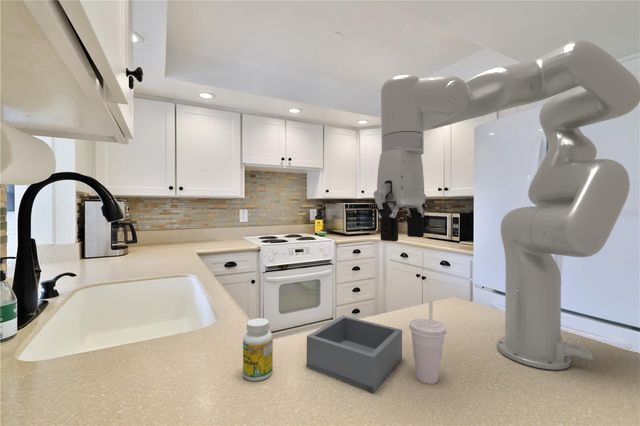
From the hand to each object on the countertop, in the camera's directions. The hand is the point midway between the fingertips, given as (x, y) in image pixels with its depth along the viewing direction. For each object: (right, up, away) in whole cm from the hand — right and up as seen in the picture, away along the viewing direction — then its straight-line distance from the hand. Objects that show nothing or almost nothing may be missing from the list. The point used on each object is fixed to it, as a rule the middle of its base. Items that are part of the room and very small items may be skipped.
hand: (403, 238), depth 54 cm
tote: (-8, -25, +4) cm, 27 cm away
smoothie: (+4, -26, -1) cm, 26 cm away
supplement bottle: (-27, -25, 0) cm, 37 cm away
